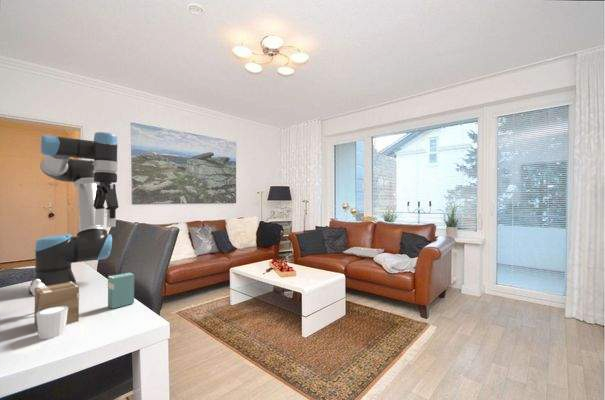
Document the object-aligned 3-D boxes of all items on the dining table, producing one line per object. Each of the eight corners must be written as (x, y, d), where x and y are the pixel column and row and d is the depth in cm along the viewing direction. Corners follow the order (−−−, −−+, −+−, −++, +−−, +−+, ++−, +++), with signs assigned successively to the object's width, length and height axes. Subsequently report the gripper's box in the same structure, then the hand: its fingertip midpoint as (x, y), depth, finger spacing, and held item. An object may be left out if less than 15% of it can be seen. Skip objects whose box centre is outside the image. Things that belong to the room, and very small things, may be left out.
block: (107, 305, 99) (107, 276, 99) (129, 300, 105) (129, 272, 105) (112, 308, 96) (112, 278, 96) (134, 303, 102) (134, 274, 102)
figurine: (46, 315, 91) (47, 279, 91) (29, 319, 88) (29, 282, 88) (46, 309, 96) (46, 275, 96) (29, 312, 93) (29, 277, 94)
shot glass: (49, 329, 82) (50, 305, 82) (74, 328, 82) (74, 305, 82) (28, 340, 75) (28, 315, 75) (55, 339, 75) (55, 314, 75)
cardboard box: (34, 322, 86) (34, 287, 86) (71, 313, 93) (71, 281, 93) (40, 331, 80) (40, 293, 80) (78, 320, 87) (79, 286, 87)
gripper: (84, 173, 112) (84, 224, 112) (105, 169, 97) (104, 228, 97) (106, 174, 118) (105, 223, 118) (128, 171, 103) (128, 227, 103)
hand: (105, 225), depth 108 cm, fingers open, 13 cm apart
